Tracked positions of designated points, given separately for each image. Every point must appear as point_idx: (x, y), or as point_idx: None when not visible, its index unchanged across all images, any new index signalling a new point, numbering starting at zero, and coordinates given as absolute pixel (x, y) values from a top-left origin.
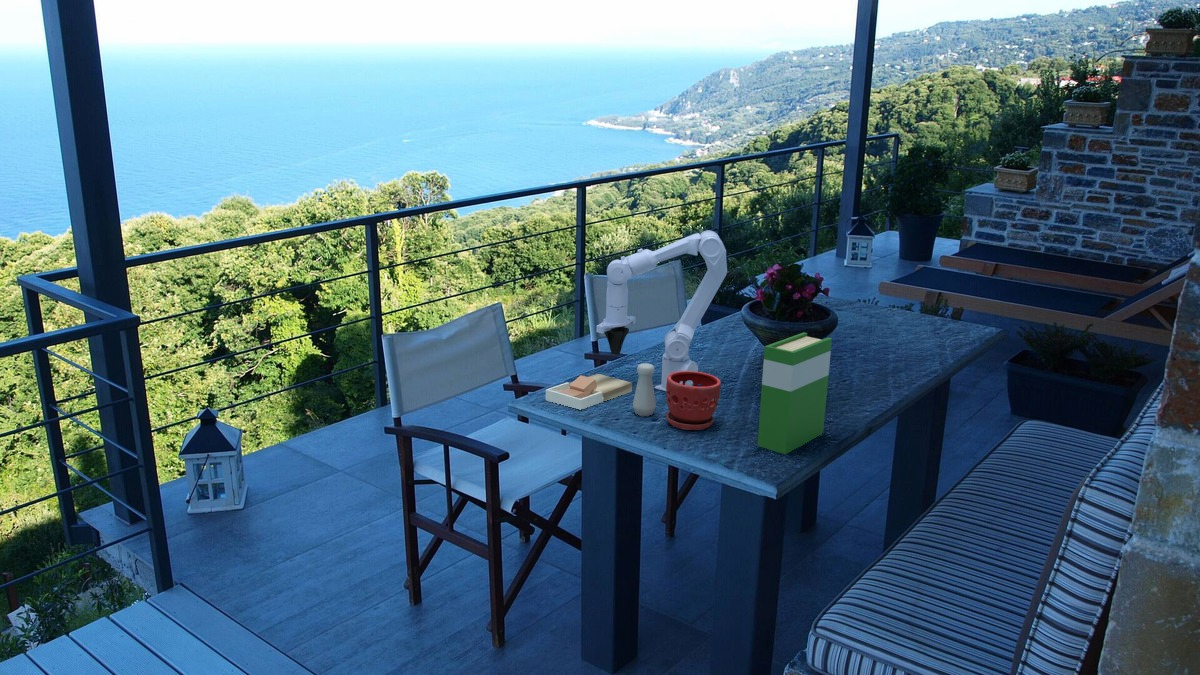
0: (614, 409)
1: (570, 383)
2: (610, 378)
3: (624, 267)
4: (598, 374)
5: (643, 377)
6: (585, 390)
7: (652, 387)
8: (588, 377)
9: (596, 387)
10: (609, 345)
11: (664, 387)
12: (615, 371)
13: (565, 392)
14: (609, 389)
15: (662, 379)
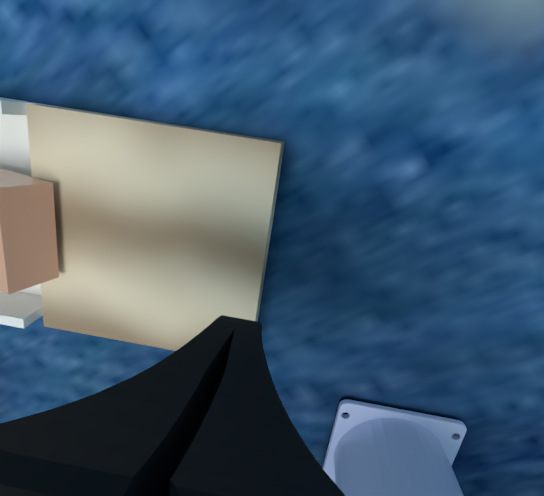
0: (42, 367)
1: (28, 110)
2: (244, 250)
3: None
4: (267, 157)
5: None
6: None
7: None
8: (2, 248)
9: (55, 276)
10: (183, 346)
11: (339, 446)
12: (530, 120)
13: None
14: (99, 322)
15: (354, 460)
